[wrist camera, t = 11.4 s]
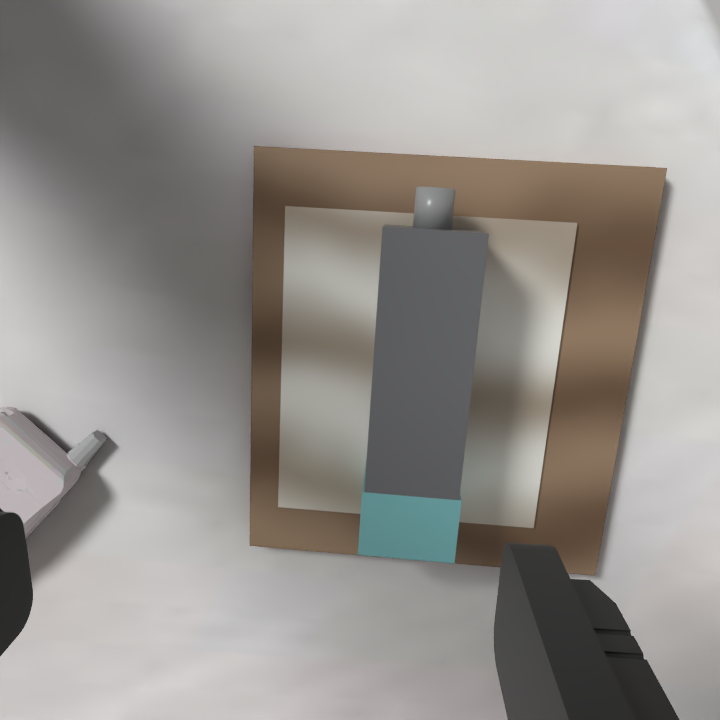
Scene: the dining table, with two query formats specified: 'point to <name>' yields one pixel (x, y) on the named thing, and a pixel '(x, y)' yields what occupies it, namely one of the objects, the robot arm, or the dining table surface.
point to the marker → (421, 382)
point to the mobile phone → (37, 467)
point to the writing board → (493, 351)
